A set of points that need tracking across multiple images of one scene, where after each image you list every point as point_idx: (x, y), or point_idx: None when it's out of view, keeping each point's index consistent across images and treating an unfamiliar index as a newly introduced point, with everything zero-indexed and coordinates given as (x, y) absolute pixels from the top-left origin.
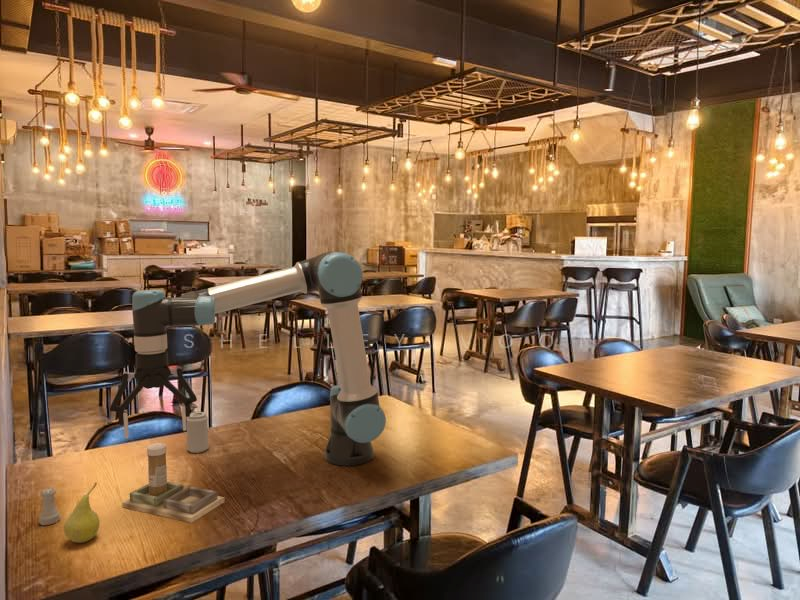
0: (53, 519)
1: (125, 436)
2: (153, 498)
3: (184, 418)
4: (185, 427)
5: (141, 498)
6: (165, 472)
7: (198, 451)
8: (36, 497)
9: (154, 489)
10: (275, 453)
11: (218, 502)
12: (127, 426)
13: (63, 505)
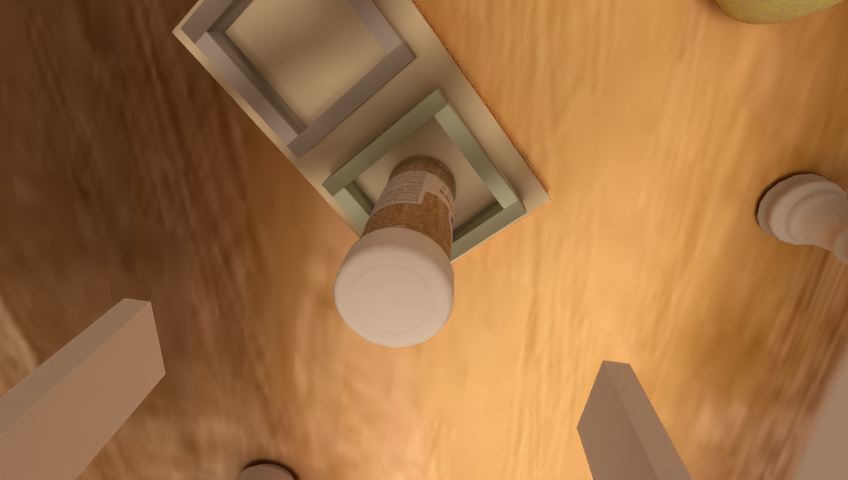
0: (797, 184)
1: (632, 376)
2: (449, 106)
3: (33, 384)
4: (110, 316)
5: (489, 159)
6: (376, 203)
7: (267, 466)
8: (756, 399)
9: (435, 173)
10: (26, 356)
11: (199, 3)
12: (648, 456)
13: (709, 306)
